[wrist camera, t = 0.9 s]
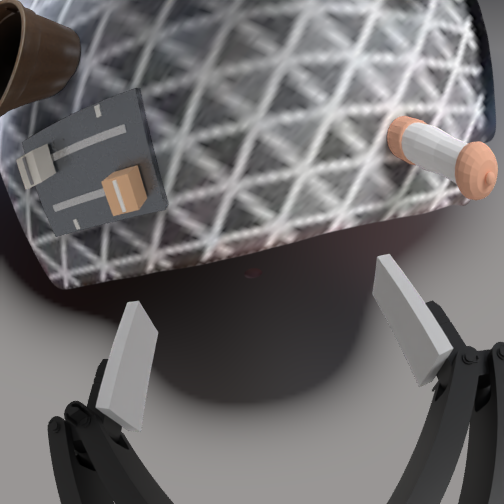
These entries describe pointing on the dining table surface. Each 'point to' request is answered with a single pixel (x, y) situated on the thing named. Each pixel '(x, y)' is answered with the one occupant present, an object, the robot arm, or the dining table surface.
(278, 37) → the dining table surface
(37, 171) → the fader
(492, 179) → the pepper shaker
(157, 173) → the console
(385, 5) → the dining table surface
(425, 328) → the robot arm
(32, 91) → the plant pot
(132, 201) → the fader
